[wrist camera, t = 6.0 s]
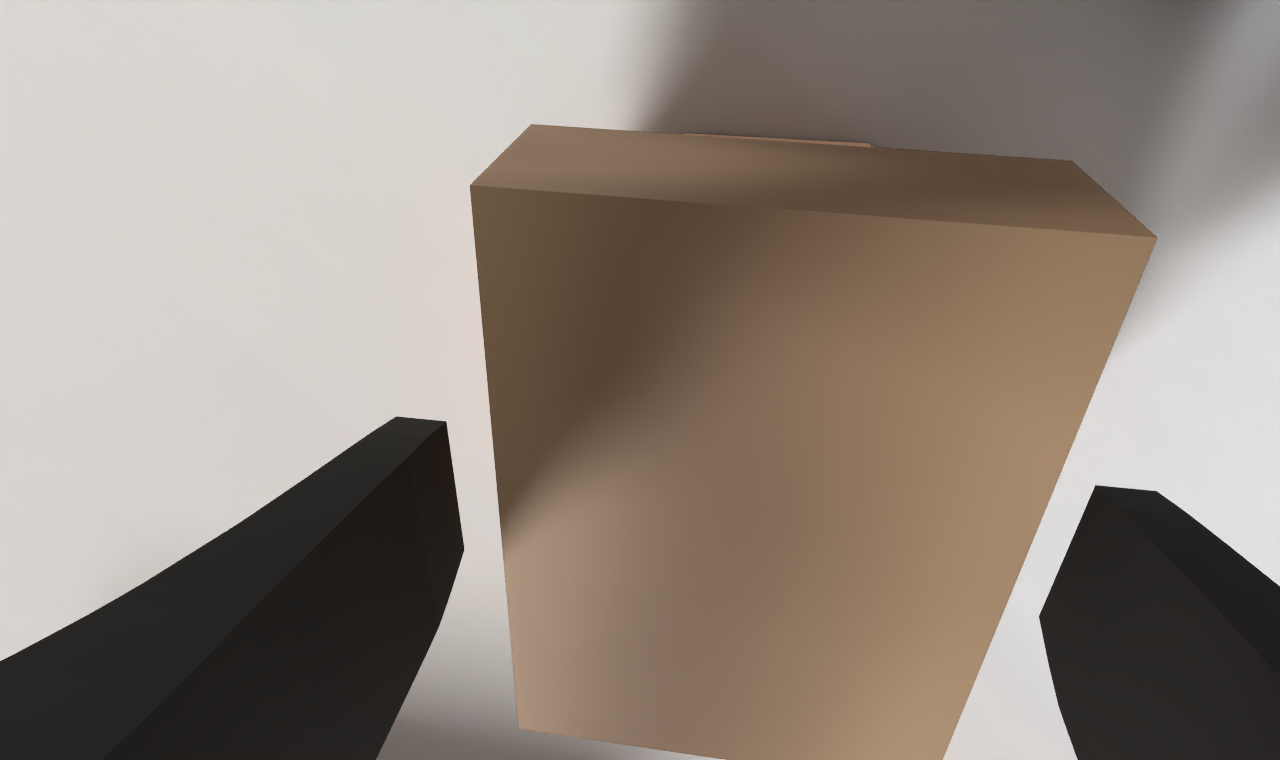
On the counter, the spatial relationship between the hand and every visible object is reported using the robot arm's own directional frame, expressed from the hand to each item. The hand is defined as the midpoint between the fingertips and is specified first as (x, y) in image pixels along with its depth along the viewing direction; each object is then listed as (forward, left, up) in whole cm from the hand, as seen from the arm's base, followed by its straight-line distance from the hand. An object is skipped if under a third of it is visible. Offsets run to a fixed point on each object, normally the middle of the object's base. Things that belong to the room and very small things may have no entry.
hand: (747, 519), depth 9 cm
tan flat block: (0, 0, -1) cm, 1 cm away
